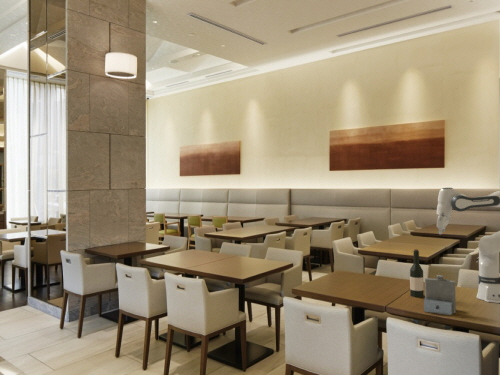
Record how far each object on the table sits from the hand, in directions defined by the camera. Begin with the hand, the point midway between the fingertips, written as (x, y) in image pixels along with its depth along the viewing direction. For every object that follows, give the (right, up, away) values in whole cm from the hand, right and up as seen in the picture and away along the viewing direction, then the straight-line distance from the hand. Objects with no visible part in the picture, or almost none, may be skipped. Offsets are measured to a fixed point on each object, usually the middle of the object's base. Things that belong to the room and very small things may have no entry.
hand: (441, 233), depth 262 cm
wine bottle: (-17, -41, -1) cm, 44 cm away
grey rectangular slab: (-16, -41, -32) cm, 55 cm away
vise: (-17, -41, -32) cm, 55 cm away
